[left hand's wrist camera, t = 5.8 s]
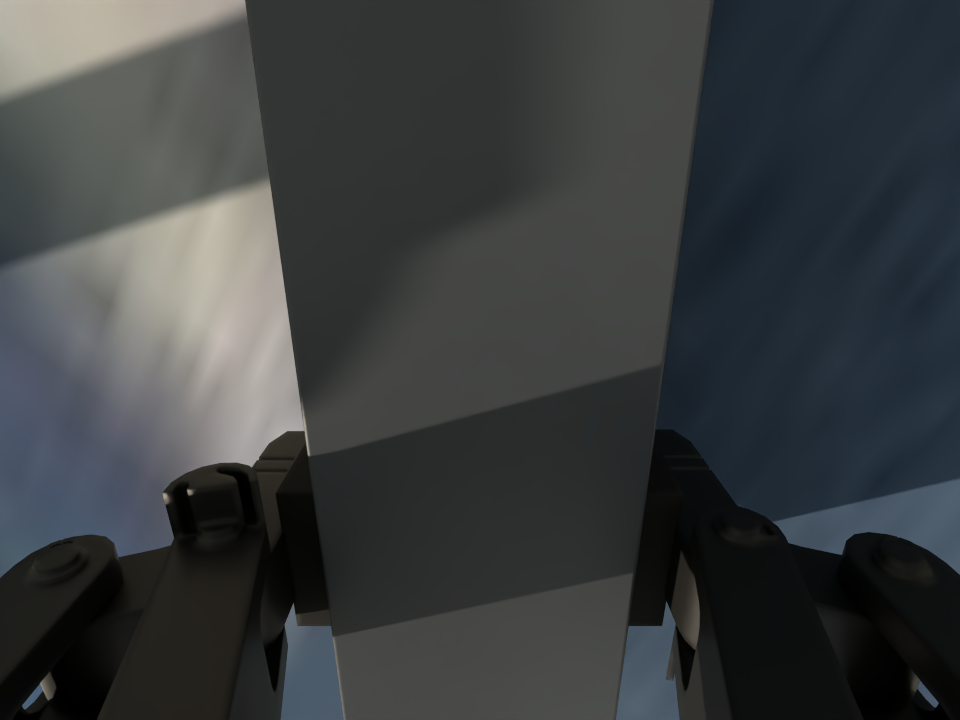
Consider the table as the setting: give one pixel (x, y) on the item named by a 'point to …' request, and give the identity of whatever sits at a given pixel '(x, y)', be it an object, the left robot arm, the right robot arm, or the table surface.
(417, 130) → the beam
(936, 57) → the table surface
